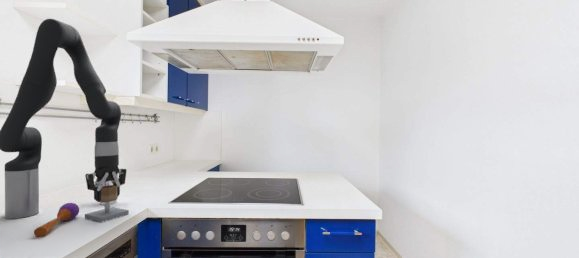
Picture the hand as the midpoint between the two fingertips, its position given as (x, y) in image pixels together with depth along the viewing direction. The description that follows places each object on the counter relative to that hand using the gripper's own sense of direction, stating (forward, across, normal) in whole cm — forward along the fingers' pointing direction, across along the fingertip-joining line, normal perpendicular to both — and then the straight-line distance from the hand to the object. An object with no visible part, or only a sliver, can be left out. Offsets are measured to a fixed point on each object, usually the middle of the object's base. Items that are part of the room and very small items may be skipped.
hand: (107, 198), depth 104 cm
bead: (+1, 0, 0) cm, 1 cm away
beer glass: (+7, -11, -17) cm, 22 cm away
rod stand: (+7, 0, 0) cm, 7 cm away
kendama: (+7, +13, -5) cm, 16 cm away
